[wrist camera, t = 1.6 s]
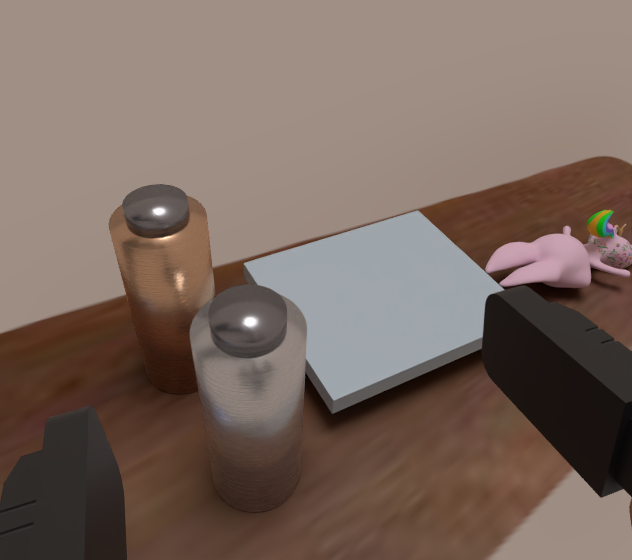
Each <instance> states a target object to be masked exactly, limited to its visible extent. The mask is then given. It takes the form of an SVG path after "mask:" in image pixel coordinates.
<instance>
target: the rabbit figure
mask: <svg viewBox="0 0 632 560" xmlns="http://www.w3.org/2000/svg"><path fill="white" fill-rule="evenodd" d="M612 213H613V211H611V210H604V211H600V212H598V213H596V214H595V215H593V216H592V217H591V218H590V219H589V220H588V222H587V229H588V231H589V232H590V233H591V235H590V236H589V239H588V243H587V244H584V245H583V244H582V243H581V242H580V241H578V240H577V239H576V238H574V237H571V235H570V232H571V229H570V227H568V226H565V227H564V228H563V234H550V235H546V236H543V237H540V238H539V239H537V240H535V241H534V242H532V243H524V242H513V243H509V244H506V245H504V246H502V247H500V248H499V249H497V250H496V251H495V253H494V254H493V255H492V257H491V258H490V260H489V262H488V263H487V266H486V268H485V271H486V273H492V272H495V271H500V270H504V269H508V268H512V267H517V266H523V265H527V266H525V267H522V268H519V269H517V270H516V271H514V272H513V273H511V274H510V275H509V276H508V277H507V278H505V279H504V280H503V281H501V282H500V283H499V285H500V286H503V287H509V286H515V285H520V284H526V283H534V282H543V283H544V284H546V285H549V286H553V287H566V288H584V287H587V286H589V284H590V282H591V270H590V268H594V269H598V270H601V271H604V272H607V273H610V274H614V275H617V276H621V277H629V276H630V272H629V271H627V270H623V269H624V268H626V267H628V266H630V265H631V264H632V245H630V244H629V242H628V241H627V240H625V239H624V238H622V237H621V235H622V232H623V228H624V226H625V225H626V224H625V225H623V227H622V228H621V229H620V228H619V227H618V225H615V226H614V227H613V226H612V225H611V224H610V223H608V220H609V218H610V216H611V214H612Z"/></svg>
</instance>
